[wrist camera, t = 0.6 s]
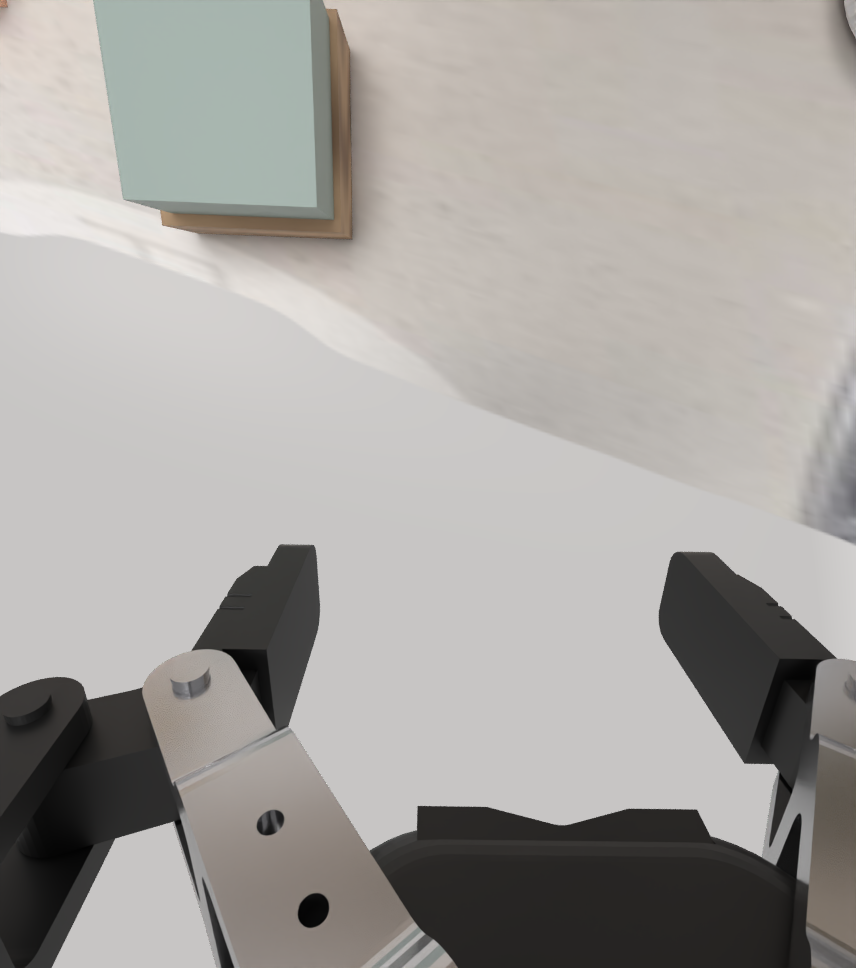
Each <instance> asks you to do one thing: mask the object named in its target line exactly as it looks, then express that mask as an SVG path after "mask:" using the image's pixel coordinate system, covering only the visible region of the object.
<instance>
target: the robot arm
mask: <svg viewBox="0 0 856 968" xmlns="http://www.w3.org/2000/svg"><path fill="white" fill-rule="evenodd" d="M319 616H320V601H319V586H318V573H317V558H316V550H315V547H314V545H283V544H282V545H279V546H278V548H277V550H276V552H275V553H274V555H273V557H272V559H271V561H270V562H269V564H268V566H254V567H252V568H251V569H250V570H248V571H247V572H245V573H244V574H243V575H241V576H240V577H239V578H237V579H236V581H235V583H234V584H233V586H232V587H231V589H230V590H229V592H228V595H227V597H225V598H224V600H223V601H222V603H221V605H220V608H219V609H218V610H217V611H216V613H215V614H214V616H213V617H212V619H211V621H210V622H209V624H208V625H207V627H206V629H205V630H204V632H203V633H202V635H201V636H200V638H199V640H198V641H197V643H196V644H195V646H194V648H193V649H192V651H190V652H186V653H183V654H180V655H177V656H175V657H173V658H171V659H169V660H167V661H165V662H164V663H162V664H161V665H159V666H158V667H157V668H156V669H155V670H154V671H153V672H152V673H151V674H150V675H149V676H148V678H147V679H146V681H145V683H144V685H143V687H142V688H140V689H136V690H132V691H128V692H123V693H118V694H113V695H109V696H104V697H99V698H95V699H90V700H87V698H86V694H85V691H84V687H83V686H82V685H81V684H80V683H79V682H78V681H76V680H74V679H71V678H65V677H55V678H54V677H53V678H46V679H40V680H36V681H33V682H30V683H27V684H24V685H21V686H19V687H17V688H15V689H12V690H10V691H9V692H7V693H5V694H3V695H2V696H0V968H52V966H53V964H54V961H55V959H56V957H57V955H58V953H59V951H60V949H61V947H62V945H63V943H64V941H65V939H66V937H67V935H68V933H69V931H70V929H71V927H72V925H73V923H74V921H75V919H76V917H77V915H78V913H79V911H80V909H81V907H82V905H83V903H84V901H85V899H86V897H87V895H88V893H89V891H90V888H91V887H92V884H93V882H94V880H95V878H96V876H97V874H98V872H99V870H100V868H101V866H102V864H103V862H104V860H105V858H106V856H107V854H108V852H109V850H110V848H111V846H112V844H113V842H114V840H115V838H118V837H122V836H125V835H129V834H132V833H135V832H139V831H142V830H146V829H149V828H153V827H156V826H160V825H163V824H166V823H170V822H173V825H174V828H175V831H176V835H177V838H178V840H179V844H180V847H181V850H182V854H183V857H184V860H185V863H186V866H187V869H188V873H189V876H190V879H191V882H192V885H193V889H194V892H195V895H196V898H197V901H198V904H199V908H200V911H201V914H202V917H203V920H204V924H205V927H206V931H207V934H208V938H209V942H210V945H211V949H212V953H213V957H214V960H215V964H216V967H217V968H856V661H852V660H845V659H837V658H836V657H835V656H834V655H833V654H832V653H831V652H829V651H828V650H827V649H826V648H825V647H824V646H823V645H822V644H821V643H820V642H819V641H818V640H817V639H815V637H813V636H812V635H811V634H810V633H809V632H808V631H807V630H806V629H805V628H804V627H803V626H802V625H800V624H799V623H798V622H797V621H796V620H795V619H792V617H791V615H790V614H789V613H788V612H787V611H786V610H784V608H783V607H781V606H778V603H777V602H776V601H775V600H774V599H773V598H772V597H771V596H770V595H769V594H768V593H767V592H765V591H764V590H763V589H762V588H761V587H759V586H757V585H756V584H754V583H752V582H750V581H748V580H747V579H745V578H743V577H741V576H740V575H736V574H735V573H734V572H733V571H732V570H731V569H730V568H729V567H728V566H727V565H726V564H725V563H724V562H723V561H722V560H721V559H720V558H719V557H718V556H716V555H715V554H714V553H711V552H676V553H674V554H673V556H672V557H671V560H670V564H669V568H668V573H667V577H666V582H665V586H664V591H663V595H662V600H661V604H660V609H659V626H660V631H661V634H662V636H663V638H664V640H665V642H666V643H667V645H668V646H669V648H670V649H671V651H672V653H673V654H674V656H675V657H676V658H677V660H678V662H679V663H680V665H681V666H682V668H683V669H684V671H685V673H686V674H687V676H688V677H689V679H690V680H691V682H692V683H693V685H694V686H695V688H696V689H697V691H698V692H699V694H700V696H701V697H702V699H703V700H704V702H705V703H706V705H707V706H708V708H709V710H710V711H711V712H712V714H713V716H714V717H715V719H716V720H717V722H718V723H719V725H720V726H721V728H722V730H723V731H724V733H725V734H726V736H727V737H728V739H729V740H730V742H731V743H732V745H733V747H734V748H735V750H736V751H737V753H738V754H739V756H740V757H741V759H742V760H743V762H744V763H747V764H774V765H775V766H776V768H777V769H778V770H779V771H778V774H777V776H776V779H775V782H774V785H773V790H772V796H771V803H770V809H769V815H768V821H767V828H766V835H765V840H764V847H763V854H762V857H760V856H758V855H756V854H754V853H752V852H750V851H748V850H746V849H743V848H741V847H739V846H737V845H734V844H732V843H729V842H726V841H724V840H721V839H718V838H715V837H711V836H710V835H709V833H708V831H707V829H706V827H705V825H704V823H703V821H702V819H701V817H700V815H699V813H698V811H697V810H681V809H679V810H678V809H677V810H676V809H626V810H622V811H619V812H615V813H611V814H607V815H604V816H600V817H596V818H592V819H589V820H585V821H581V822H578V823H574V824H571V825H565V826H564V825H554V824H550V823H546V822H542V821H539V820H535V819H531V818H527V817H523V816H519V815H515V814H511V813H507V812H504V811H499V810H496V809H492V808H488V807H446V806H443V807H442V806H418V815H417V831H413V832H409V833H405V834H402V835H400V836H397V837H395V838H393V839H390V840H388V841H386V842H384V843H382V844H381V845H379V846H377V847H375V848H373V849H372V850H370V851H369V850H368V848H367V847H366V845H365V843H364V842H363V841H362V839H361V837H360V836H359V834H358V833H357V831H356V830H355V828H354V826H353V825H352V823H351V821H350V820H349V818H348V817H347V815H346V814H345V812H344V811H343V809H342V807H341V806H340V804H339V803H338V801H337V800H336V798H335V796H334V795H333V793H332V792H331V790H330V789H329V787H328V785H327V784H326V782H325V781H324V779H323V777H322V776H321V774H320V773H319V771H318V770H317V768H316V767H315V765H314V763H313V762H312V760H311V759H310V757H309V755H308V754H307V752H306V751H305V749H304V748H303V746H302V744H301V743H300V741H299V740H298V738H297V737H296V735H295V734H294V732H293V731H292V730H291V729H290V728H289V727H288V725H289V722H290V719H291V715H292V712H293V709H294V706H295V703H296V699H297V696H298V693H299V690H300V686H301V683H302V679H303V676H304V673H305V670H306V667H307V663H308V661H309V657H310V654H311V651H312V647H313V644H314V641H315V638H316V634H317V631H318V626H319Z"/></svg>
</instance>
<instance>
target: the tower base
mask: <svg viewBox="0 0 856 968" xmlns="http://www.w3.org/2000/svg"><path fill="white" fill-rule="evenodd" d="M326 11H327V14H328V17H329V32H330V73H331V113H332V154H333V195H334V220H321V219H297V218H273V217H249V216H225V215H200V214H176V213H169V212H165V211H162V210H160V211H161V219H162V225H163V226H168V227H172V228H177V229H181V230H186V231H190V232H195V233H208V234H233V235H257V236H282V237H307V238H331V239H352V182H351V110H350V49H349V46H348V43H347V40H346V37H345V34H344V31H343V27H342V24H341V21H340V18H339V15H338V12H337V9H326Z"/></svg>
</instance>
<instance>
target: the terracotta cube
mask: <svg viewBox="0 0 856 968" xmlns="http://www.w3.org/2000/svg"><path fill="white" fill-rule="evenodd" d="M0 7H8V6H7V1H6V0H0Z"/></svg>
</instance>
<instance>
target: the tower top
mask: <svg viewBox="0 0 856 968" xmlns="http://www.w3.org/2000/svg"><path fill="white" fill-rule="evenodd" d="M93 2H94V9H95V16H96V22H97V29H98V35H99V42H100V49H101V55H102V62H103V69H104V75H105V82H106V88H107V95H108V102H109V108H110V115H111V122H112V128H113V135H114V142H115V148H116V155H117V161H118V168H119V175H120V181H121V188H122V195H123V199H124V200H127V201H131V202H134V203H138V204H141V205H145V206H148V207H152V208H155V209H158V210H162V211H165V212H169V213H176V214H200V215H225V216H249V217H273V218H297V219H321V220H334V195H333V154H332V113H331V73H330V32H329V17H328V14H327V11H326V8H325V6H324V3H323V0H93Z"/></svg>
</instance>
